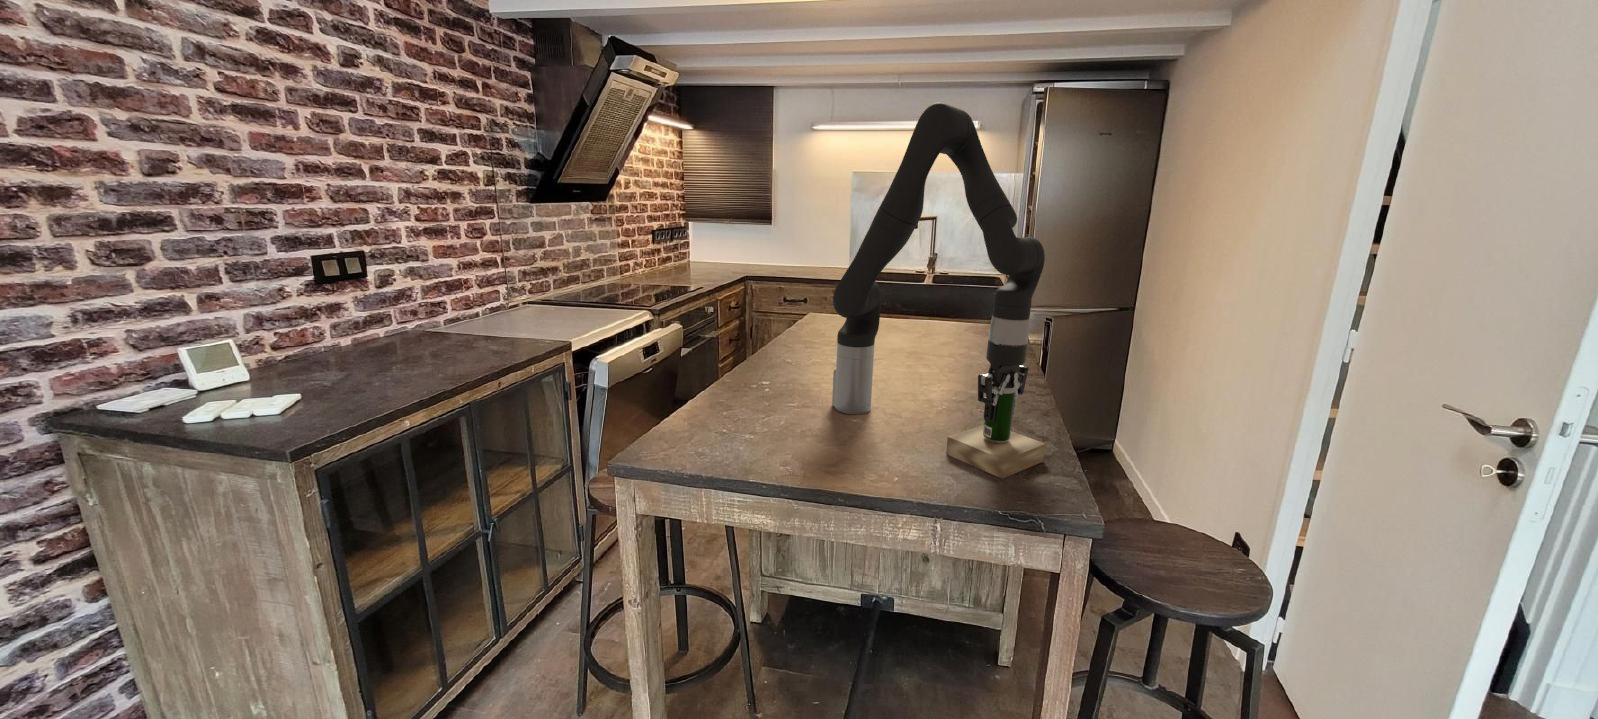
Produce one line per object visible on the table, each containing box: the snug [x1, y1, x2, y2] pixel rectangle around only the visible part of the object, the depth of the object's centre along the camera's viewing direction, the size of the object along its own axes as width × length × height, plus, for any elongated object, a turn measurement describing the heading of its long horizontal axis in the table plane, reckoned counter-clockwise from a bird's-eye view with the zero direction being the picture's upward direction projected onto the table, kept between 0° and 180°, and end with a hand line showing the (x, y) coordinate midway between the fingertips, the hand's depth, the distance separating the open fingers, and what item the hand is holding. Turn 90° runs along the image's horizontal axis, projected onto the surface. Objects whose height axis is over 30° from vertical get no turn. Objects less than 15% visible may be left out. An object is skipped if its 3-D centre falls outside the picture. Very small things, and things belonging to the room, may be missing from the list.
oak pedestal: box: [945, 424, 1046, 479], centre depth 129 cm, size 14×14×4 cm
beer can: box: [983, 385, 1016, 444], centre depth 127 cm, size 5×5×12 cm
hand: (998, 417), depth 127 cm, fingers open, 5 cm apart
